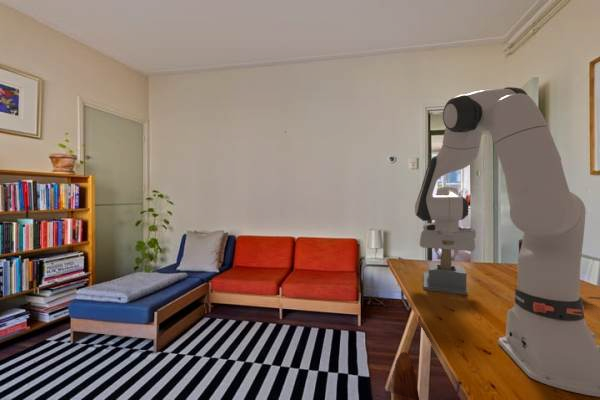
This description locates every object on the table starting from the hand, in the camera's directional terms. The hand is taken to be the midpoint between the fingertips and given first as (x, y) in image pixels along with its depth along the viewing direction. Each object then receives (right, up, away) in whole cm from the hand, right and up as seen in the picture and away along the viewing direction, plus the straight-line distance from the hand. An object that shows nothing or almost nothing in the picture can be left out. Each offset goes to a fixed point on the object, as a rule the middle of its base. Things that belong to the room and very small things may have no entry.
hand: (445, 259), depth 116 cm
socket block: (0, -10, +2) cm, 11 cm away
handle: (0, -7, 0) cm, 7 cm away
